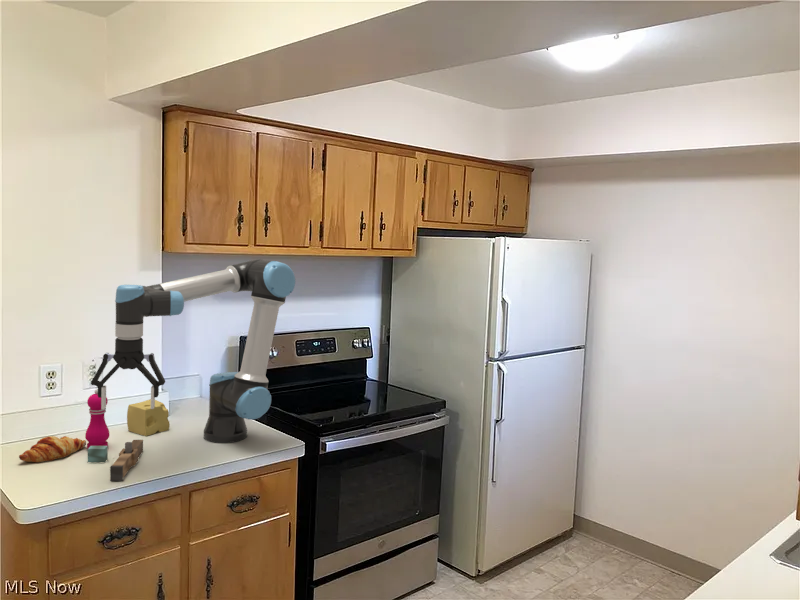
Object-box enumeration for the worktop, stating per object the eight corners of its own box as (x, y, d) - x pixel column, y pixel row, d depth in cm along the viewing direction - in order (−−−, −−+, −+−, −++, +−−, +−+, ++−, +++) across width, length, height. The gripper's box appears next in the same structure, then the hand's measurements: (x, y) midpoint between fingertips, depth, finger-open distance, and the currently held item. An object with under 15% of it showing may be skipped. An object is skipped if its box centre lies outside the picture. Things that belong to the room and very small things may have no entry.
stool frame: (143, 451, 212) (143, 430, 211) (132, 466, 199) (132, 444, 199) (97, 451, 210) (98, 430, 209) (84, 466, 197) (84, 444, 197)
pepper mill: (99, 453, 209) (99, 392, 206) (80, 450, 210) (80, 390, 208) (114, 446, 216) (114, 387, 213) (95, 443, 217) (95, 385, 215)
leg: (123, 460, 203) (123, 448, 202) (138, 460, 203) (138, 448, 203) (107, 480, 187) (107, 467, 186) (124, 480, 187) (124, 467, 187)
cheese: (169, 430, 235) (170, 403, 234) (144, 437, 226) (144, 409, 225) (151, 424, 241) (151, 398, 239) (125, 431, 232) (126, 404, 230)
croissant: (80, 455, 215) (73, 432, 217) (96, 447, 210) (90, 424, 212) (15, 473, 197) (8, 447, 198) (31, 464, 192) (25, 439, 193)
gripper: (175, 336, 196) (174, 404, 198) (86, 334, 190) (86, 404, 193) (172, 340, 189) (171, 411, 191) (79, 339, 183) (79, 411, 185)
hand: (128, 408), depth 192 cm, fingers open, 13 cm apart
